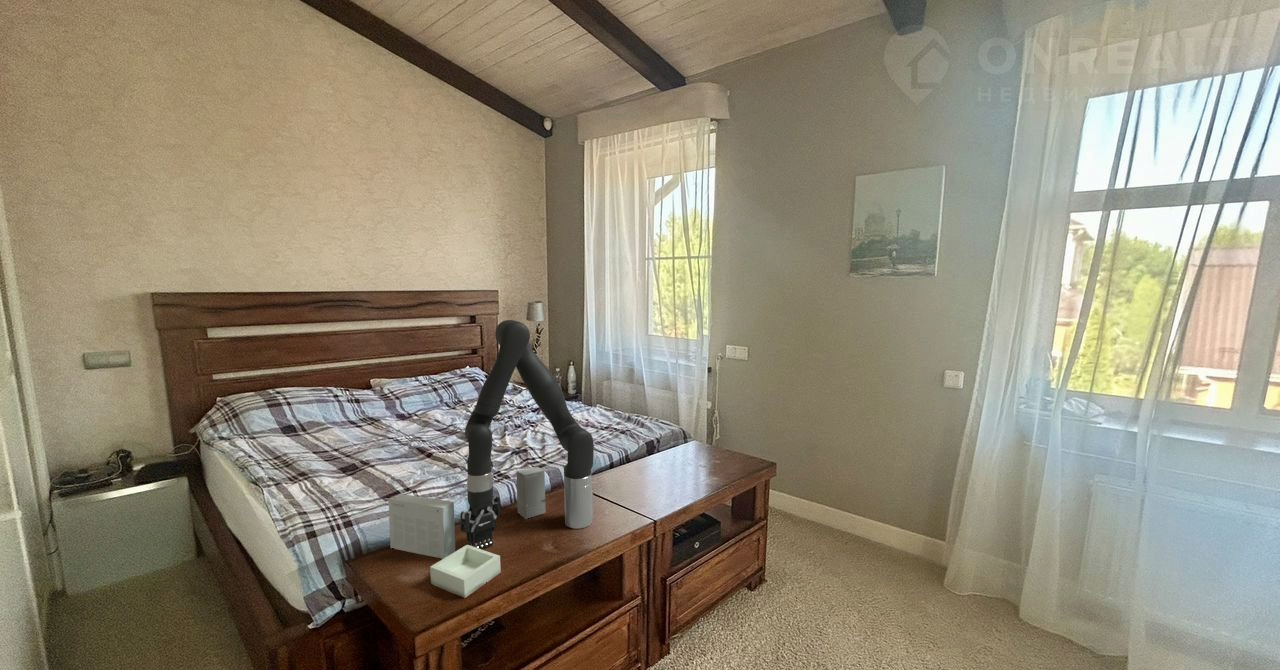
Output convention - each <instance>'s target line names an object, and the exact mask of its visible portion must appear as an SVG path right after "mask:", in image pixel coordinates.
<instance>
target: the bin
mask: <svg viewBox="0 0 1280 670" xmlns="http://www.w3.org/2000/svg"><path fill="white" fill-rule="evenodd" d="M429 568H430V569H429V572H430V583H431V585H433V586H435V587H437V588H440V589H442V590H445V591H446V592H449V593H452V594H454V595H457V596H459V597H462V598H463V599H465V598H467V597H468V596H471V594H473V593H474V592H475V591H477V590H478V589H480V588H481V587H482V586H484V585H486V582H487V583H488V582H490V581H491V580H493V579H494V578H495V577H496V576H498V575H499V574H500V573H502V572H501V571H502V570H501V555H499V554H496V553H493V552H489V551H487V550H484V549H482V550H481V549H479V548H476V547H473V546H471V544H470V545H469V544H466V545H464V546H462V547H461V548H459V549H456V550H455V552H454V553H452V554H451V555H449V556H447V557H446V558H444V559H441V560H439V561H437V562H436V563H434V564H432V565H431V566H430V567H429Z"/></svg>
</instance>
